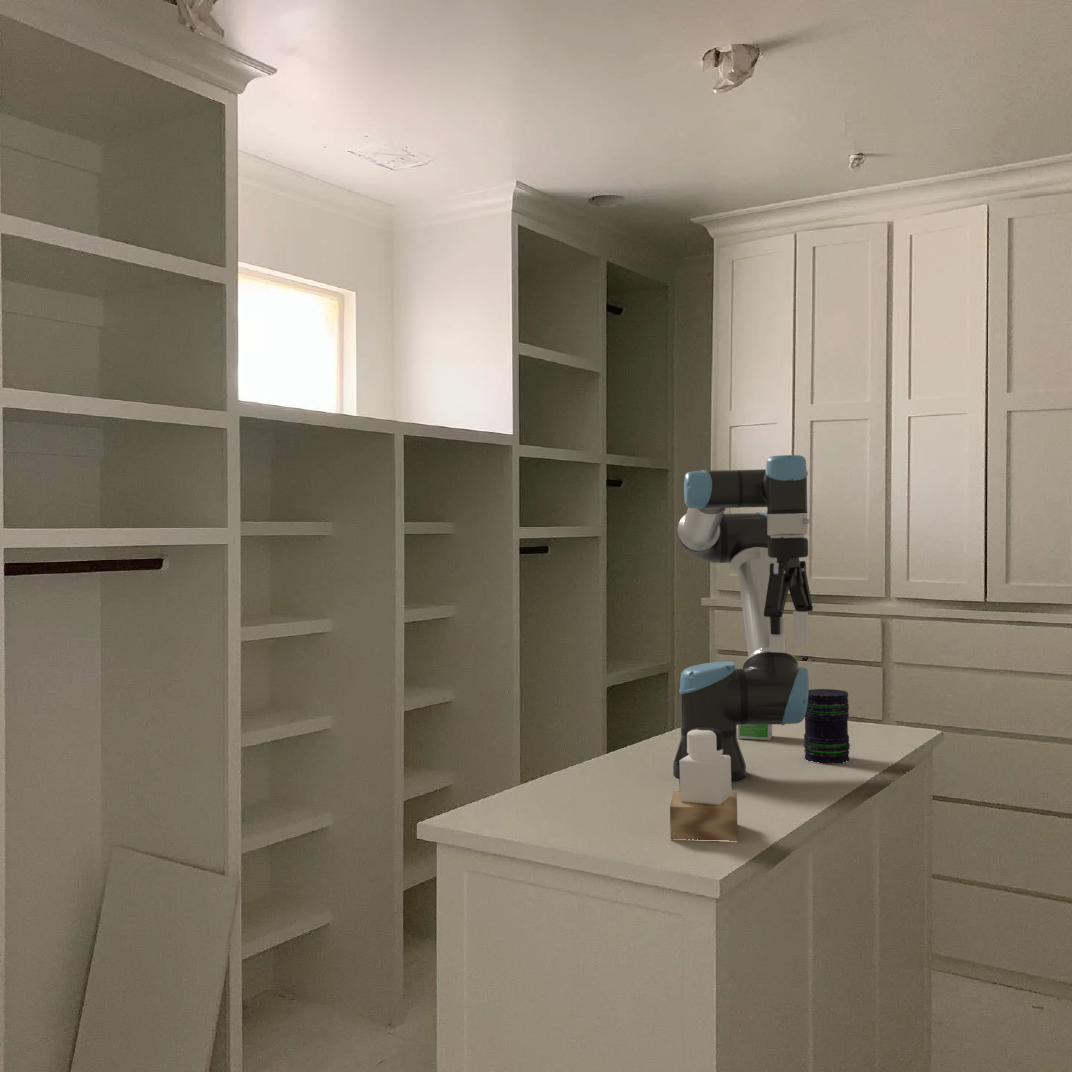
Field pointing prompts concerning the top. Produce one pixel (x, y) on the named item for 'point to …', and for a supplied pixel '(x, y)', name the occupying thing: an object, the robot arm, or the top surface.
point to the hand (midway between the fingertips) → (789, 648)
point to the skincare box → (754, 731)
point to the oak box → (703, 819)
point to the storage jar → (827, 726)
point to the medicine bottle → (705, 768)
